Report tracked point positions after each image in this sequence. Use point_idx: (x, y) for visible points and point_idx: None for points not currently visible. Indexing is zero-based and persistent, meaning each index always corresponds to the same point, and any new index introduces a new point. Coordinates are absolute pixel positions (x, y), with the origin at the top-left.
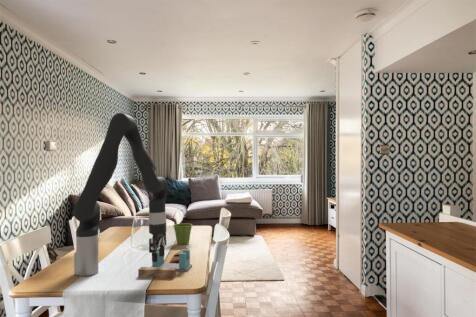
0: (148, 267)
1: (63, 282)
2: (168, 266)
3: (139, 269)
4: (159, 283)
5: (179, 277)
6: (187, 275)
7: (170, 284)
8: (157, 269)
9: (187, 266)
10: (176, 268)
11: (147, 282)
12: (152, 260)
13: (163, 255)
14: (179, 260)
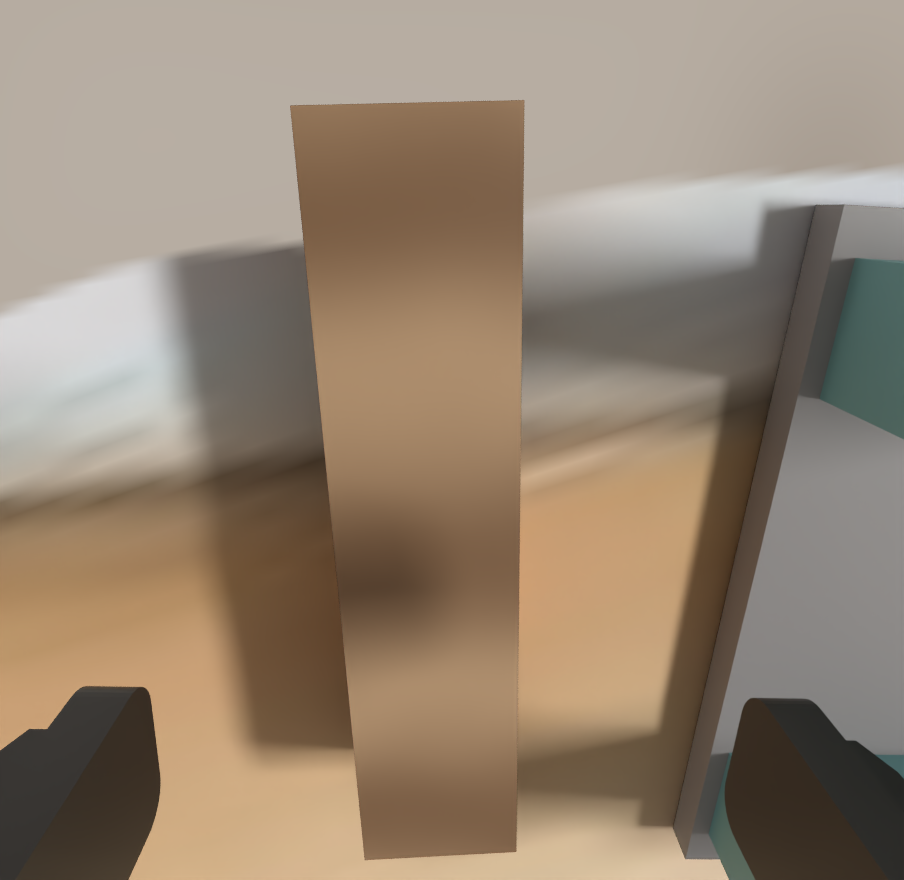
0: (492, 327)
1: None
2: (868, 564)
3: (295, 141)
4: (80, 634)
5: None
6: (497, 869)
7: None
8: (362, 581)
9: None
10: (735, 717)
11: (65, 438)
12: (21, 741)
13: (734, 818)
14: None
